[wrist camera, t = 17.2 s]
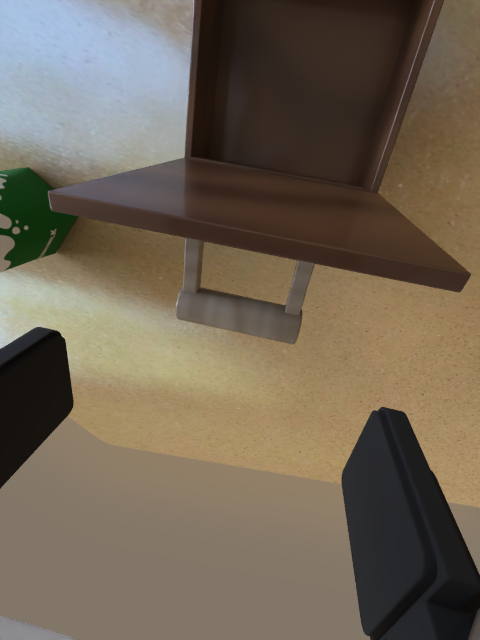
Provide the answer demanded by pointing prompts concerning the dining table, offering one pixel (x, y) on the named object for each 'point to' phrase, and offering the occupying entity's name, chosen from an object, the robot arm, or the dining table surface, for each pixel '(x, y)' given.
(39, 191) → the milk carton
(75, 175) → the dining table surface
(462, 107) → the dining table surface
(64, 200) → the lid
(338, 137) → the box
